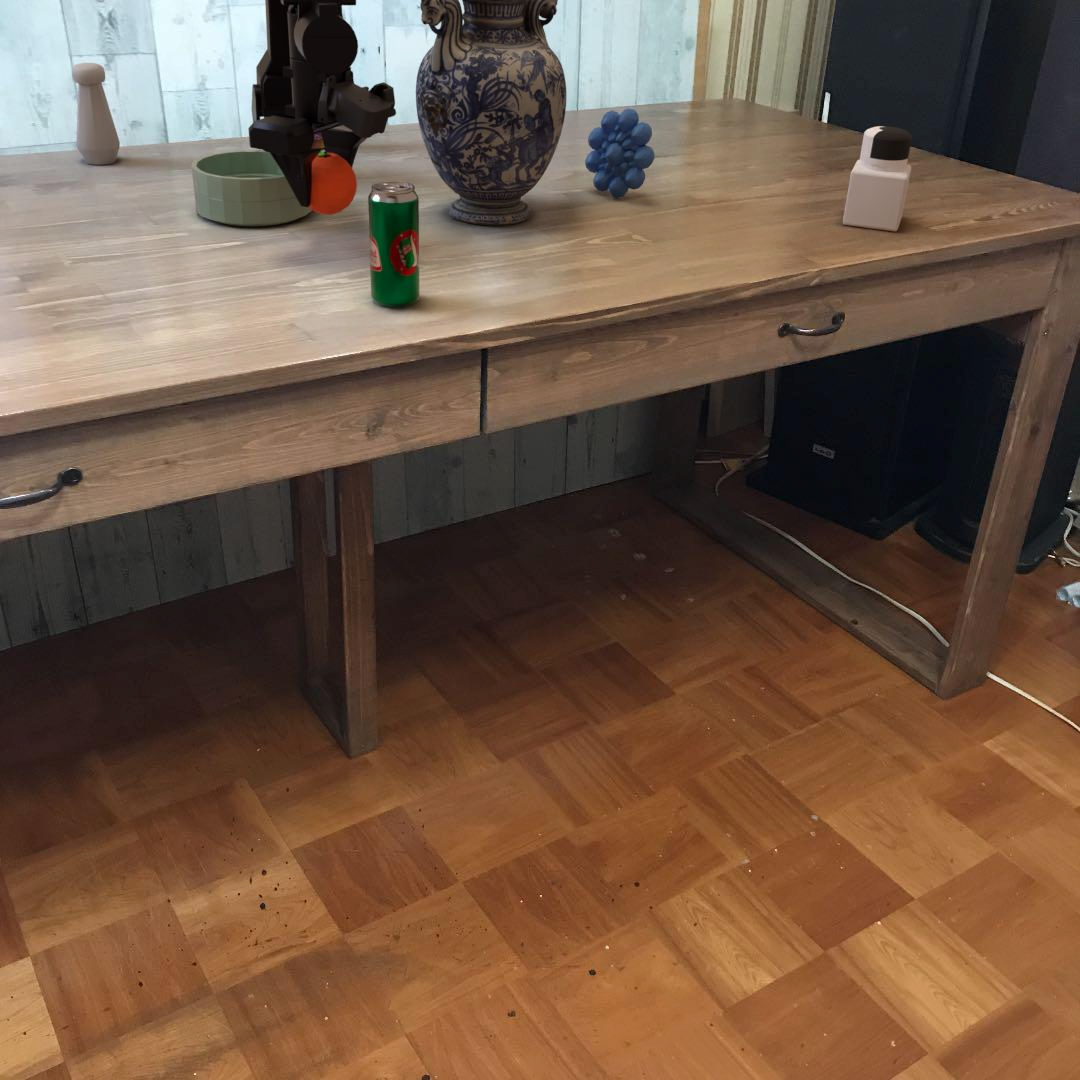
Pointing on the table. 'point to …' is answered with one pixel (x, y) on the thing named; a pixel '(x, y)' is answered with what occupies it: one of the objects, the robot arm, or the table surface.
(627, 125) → the blue flower ornament
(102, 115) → the salt shaker
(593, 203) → the table surface
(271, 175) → the bowl
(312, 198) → the clementine
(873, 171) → the medicine bottle
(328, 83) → the robot arm
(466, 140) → the decorative vase
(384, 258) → the soda can
